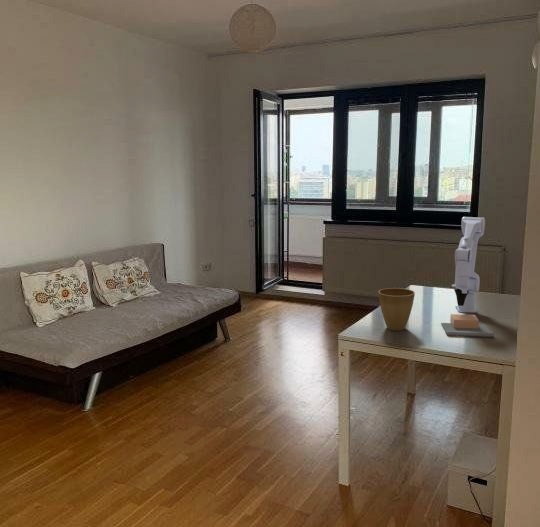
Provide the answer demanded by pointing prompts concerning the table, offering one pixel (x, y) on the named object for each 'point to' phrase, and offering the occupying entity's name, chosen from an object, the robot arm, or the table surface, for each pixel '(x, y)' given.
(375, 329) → the table surface
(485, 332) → the mat
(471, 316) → the terracotta block
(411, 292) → the plant pot
